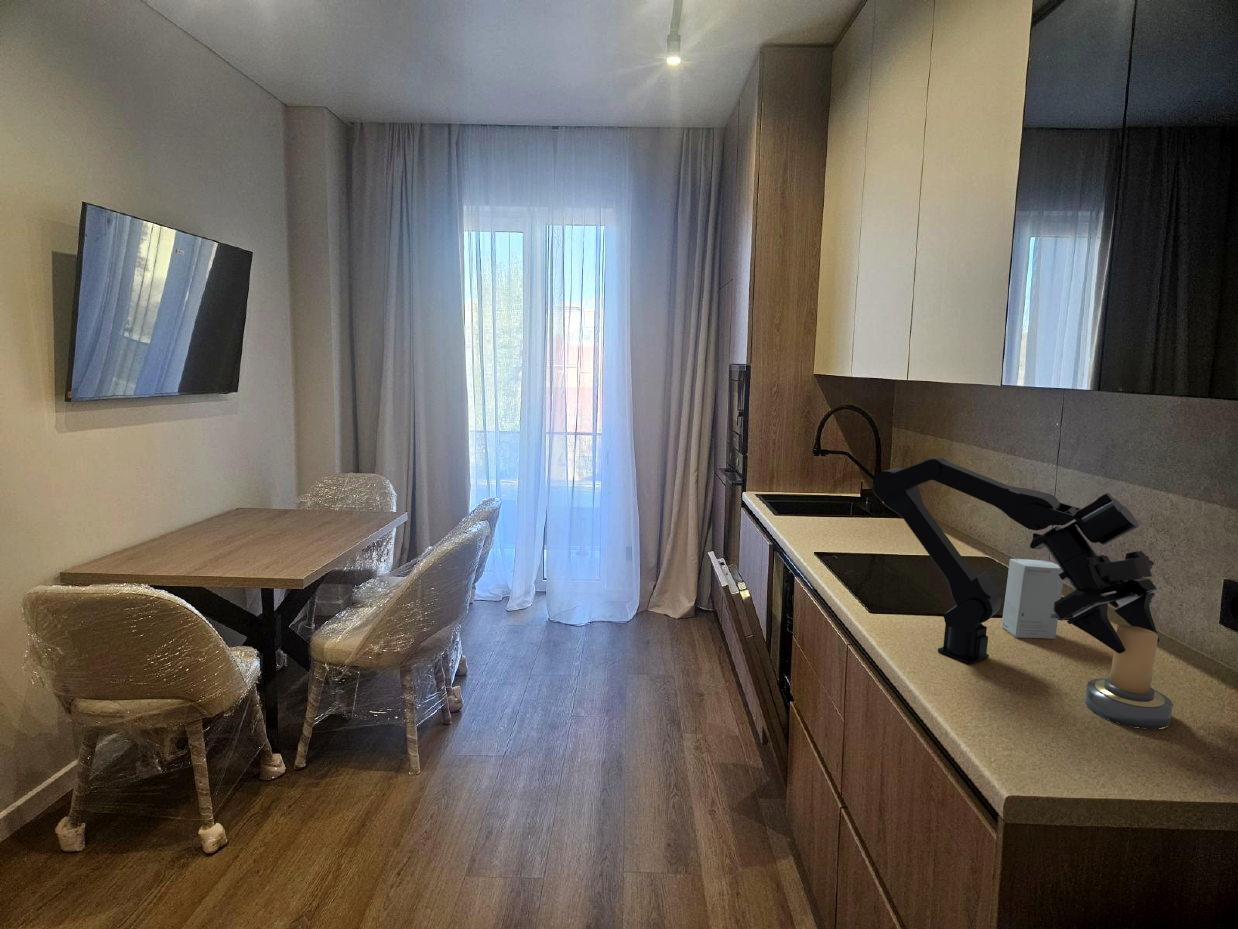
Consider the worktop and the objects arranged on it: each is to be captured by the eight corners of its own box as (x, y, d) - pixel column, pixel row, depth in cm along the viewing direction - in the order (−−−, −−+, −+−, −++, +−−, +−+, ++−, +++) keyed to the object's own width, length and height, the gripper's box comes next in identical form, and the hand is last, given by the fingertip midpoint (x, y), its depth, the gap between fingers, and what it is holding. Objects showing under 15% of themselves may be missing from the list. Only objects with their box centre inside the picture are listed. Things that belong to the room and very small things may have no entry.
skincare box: (1015, 638, 142) (1023, 566, 140) (999, 627, 148) (1007, 557, 146) (1057, 639, 142) (1066, 567, 140) (1040, 628, 148) (1048, 558, 145)
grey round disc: (1071, 705, 115) (1074, 685, 114) (1105, 689, 121) (1108, 671, 120) (1150, 737, 106) (1153, 716, 105) (1182, 718, 111) (1186, 698, 111)
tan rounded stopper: (1104, 694, 112) (1112, 633, 110) (1104, 679, 117) (1112, 621, 115) (1155, 706, 108) (1164, 643, 107) (1152, 689, 114) (1161, 630, 112)
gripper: (1082, 540, 109) (1151, 635, 101) (1151, 529, 117) (1220, 616, 109) (1027, 574, 117) (1087, 665, 109) (1095, 562, 125) (1156, 646, 117)
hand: (1139, 647), depth 111 cm, fingers open, 9 cm apart
